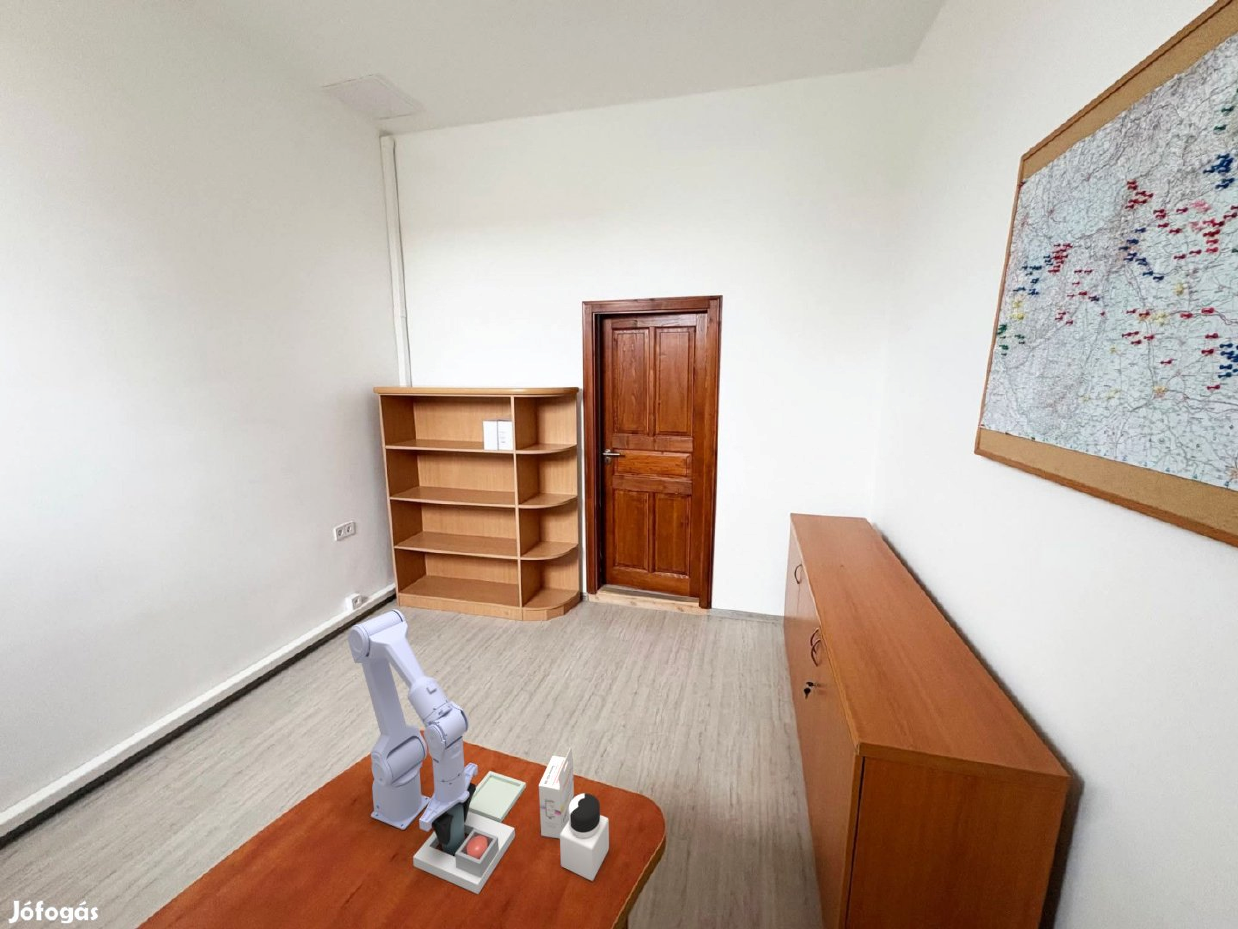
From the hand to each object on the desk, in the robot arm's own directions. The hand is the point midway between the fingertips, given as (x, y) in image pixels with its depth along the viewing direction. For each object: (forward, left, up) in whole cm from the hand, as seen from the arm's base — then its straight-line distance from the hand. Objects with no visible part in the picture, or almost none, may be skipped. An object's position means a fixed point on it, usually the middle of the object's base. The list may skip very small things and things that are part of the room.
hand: (452, 831), depth 93 cm
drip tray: (+1, +12, -3) cm, 13 cm away
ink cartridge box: (+17, +12, -4) cm, 21 cm away
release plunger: (+8, -2, -1) cm, 8 cm away
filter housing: (+3, 0, -3) cm, 5 cm away
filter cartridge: (0, 0, -3) cm, 3 cm away
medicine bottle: (+26, +7, -4) cm, 27 cm away
